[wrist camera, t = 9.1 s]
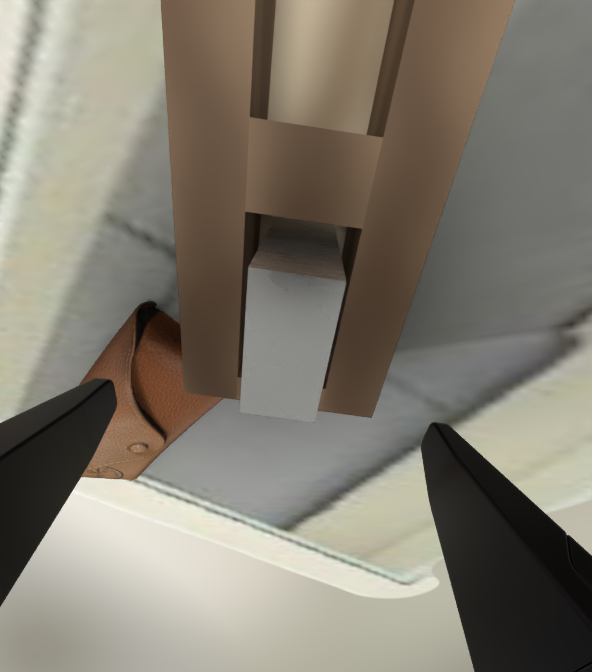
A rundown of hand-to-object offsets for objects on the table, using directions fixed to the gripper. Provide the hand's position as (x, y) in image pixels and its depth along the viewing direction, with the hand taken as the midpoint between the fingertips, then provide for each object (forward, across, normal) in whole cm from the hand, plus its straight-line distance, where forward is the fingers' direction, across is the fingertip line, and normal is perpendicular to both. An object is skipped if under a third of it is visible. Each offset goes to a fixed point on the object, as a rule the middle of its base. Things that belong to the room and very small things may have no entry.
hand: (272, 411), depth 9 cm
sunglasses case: (+12, +10, +12) cm, 20 cm away
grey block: (+11, 0, 0) cm, 11 cm away
